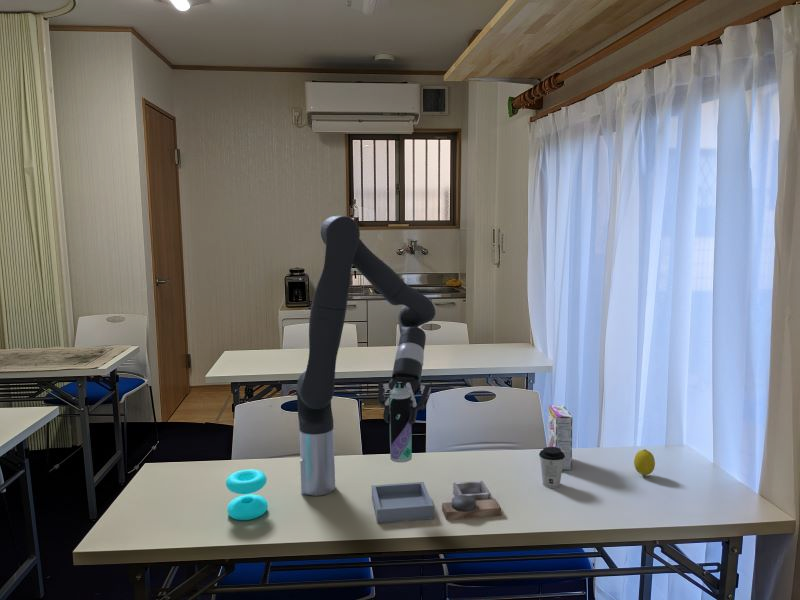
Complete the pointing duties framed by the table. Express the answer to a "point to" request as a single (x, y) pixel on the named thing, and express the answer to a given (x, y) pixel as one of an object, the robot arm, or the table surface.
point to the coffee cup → (551, 466)
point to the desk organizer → (470, 502)
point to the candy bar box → (561, 432)
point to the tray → (402, 502)
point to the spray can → (400, 424)
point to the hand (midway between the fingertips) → (398, 422)
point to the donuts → (249, 503)
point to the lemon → (644, 462)
